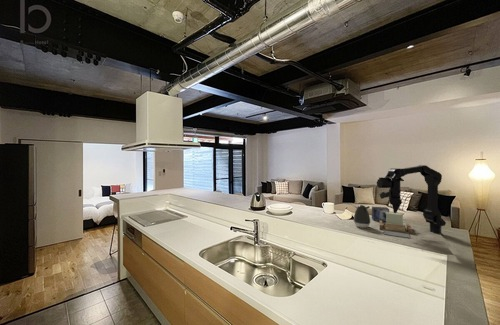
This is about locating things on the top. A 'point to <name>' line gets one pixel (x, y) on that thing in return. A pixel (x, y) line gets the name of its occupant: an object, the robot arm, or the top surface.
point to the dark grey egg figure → (362, 217)
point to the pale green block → (394, 218)
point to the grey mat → (396, 234)
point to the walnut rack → (396, 230)
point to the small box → (379, 213)
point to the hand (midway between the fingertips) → (394, 212)
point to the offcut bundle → (395, 227)
